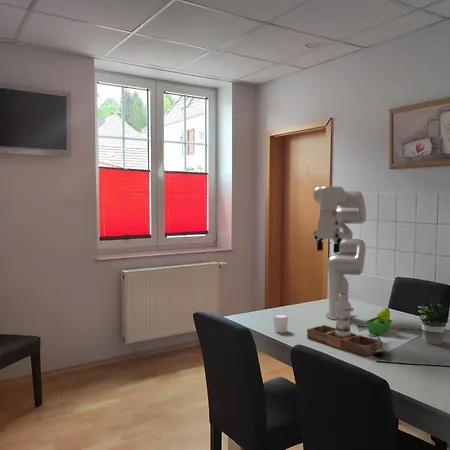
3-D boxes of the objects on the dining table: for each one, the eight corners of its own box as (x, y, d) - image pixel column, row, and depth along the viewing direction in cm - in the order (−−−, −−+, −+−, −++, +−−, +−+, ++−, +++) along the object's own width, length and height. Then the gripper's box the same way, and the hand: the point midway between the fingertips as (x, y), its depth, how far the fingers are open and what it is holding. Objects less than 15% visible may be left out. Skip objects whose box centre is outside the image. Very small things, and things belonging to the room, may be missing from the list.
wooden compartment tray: (323, 333, 205) (323, 323, 205) (382, 351, 181) (382, 340, 181) (306, 338, 199) (306, 328, 199) (364, 357, 174) (365, 346, 174)
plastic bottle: (348, 345, 186) (349, 296, 185) (332, 342, 189) (332, 294, 188) (353, 340, 191) (353, 293, 190) (337, 338, 195) (337, 291, 194)
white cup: (271, 329, 213) (271, 314, 213) (286, 328, 214) (286, 313, 213) (274, 333, 206) (274, 318, 206) (289, 332, 207) (289, 317, 207)
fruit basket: (376, 327, 215) (377, 303, 215) (395, 331, 209) (395, 306, 208) (364, 332, 207) (365, 307, 207) (383, 336, 201) (383, 311, 200)
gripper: (349, 214, 203) (348, 252, 204) (319, 213, 217) (319, 249, 218) (337, 214, 199) (337, 253, 200) (308, 213, 213) (308, 250, 214)
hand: (328, 251), depth 209 cm, fingers open, 9 cm apart
